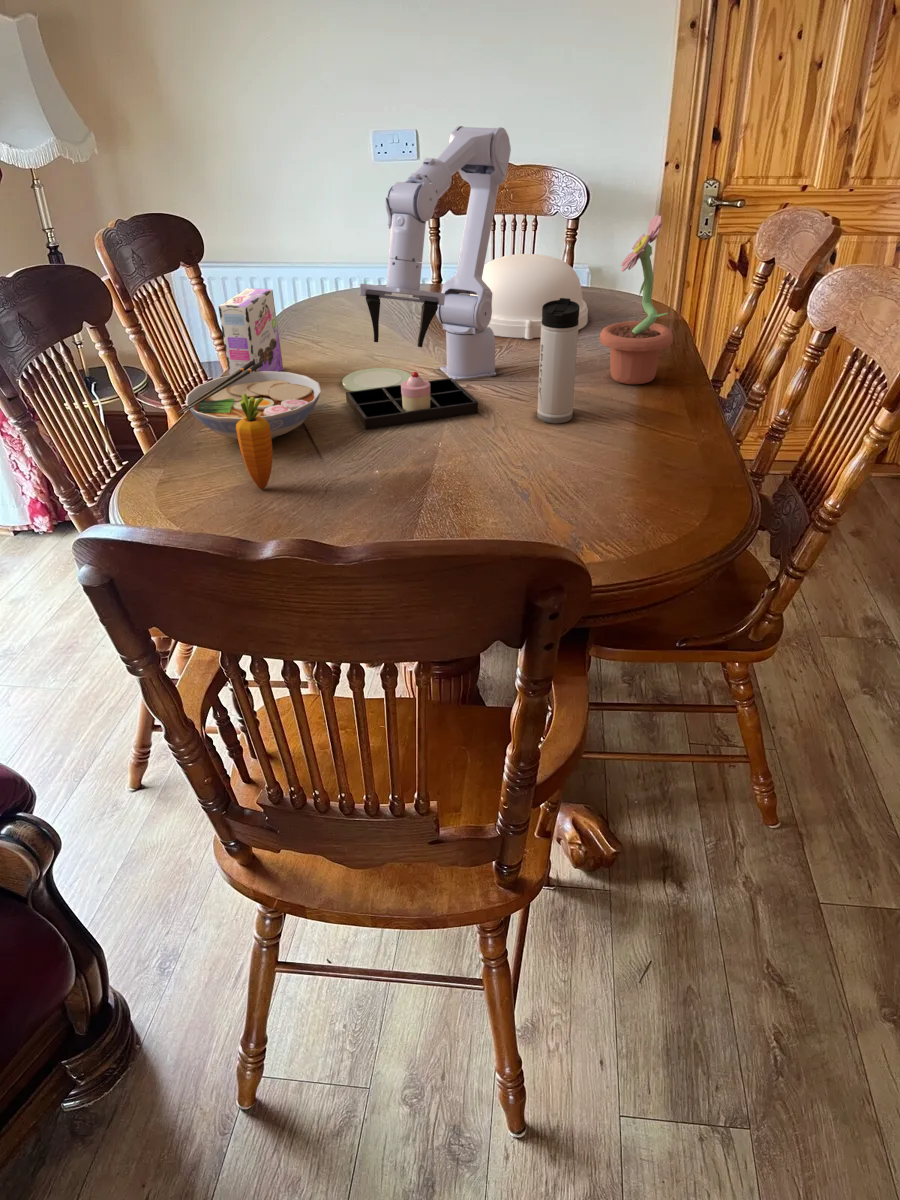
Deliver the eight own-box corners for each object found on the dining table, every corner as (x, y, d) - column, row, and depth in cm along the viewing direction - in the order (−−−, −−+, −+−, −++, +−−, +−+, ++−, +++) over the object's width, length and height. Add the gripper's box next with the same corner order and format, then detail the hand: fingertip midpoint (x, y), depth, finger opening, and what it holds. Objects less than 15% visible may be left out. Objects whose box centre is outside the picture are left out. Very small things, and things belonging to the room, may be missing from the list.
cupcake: (425, 407, 155) (424, 365, 150) (434, 417, 151) (433, 374, 146) (398, 411, 153) (396, 369, 149) (407, 421, 149) (405, 378, 145)
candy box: (258, 392, 163) (246, 306, 154) (230, 391, 164) (216, 305, 155) (284, 369, 175) (273, 287, 165) (257, 368, 176) (245, 286, 166)
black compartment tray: (346, 404, 158) (345, 392, 156) (452, 389, 163) (451, 377, 162) (365, 432, 146) (364, 419, 145) (478, 415, 152) (478, 402, 151)
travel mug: (575, 412, 152) (583, 299, 141) (568, 425, 147) (575, 309, 136) (542, 408, 154) (547, 296, 143) (533, 421, 149) (538, 306, 138)
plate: (401, 368, 174) (401, 364, 174) (422, 390, 163) (421, 385, 163) (335, 376, 170) (335, 372, 170) (352, 399, 159) (351, 395, 159)
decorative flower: (598, 364, 174) (612, 206, 158) (667, 367, 172) (687, 208, 155) (594, 388, 162) (608, 221, 146) (667, 392, 160) (690, 223, 143)
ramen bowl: (281, 472, 133) (274, 423, 129) (161, 453, 140) (150, 406, 136) (350, 415, 153) (346, 371, 148) (242, 401, 160) (235, 359, 155)
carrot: (248, 483, 130) (232, 389, 122) (280, 481, 131) (267, 388, 122) (244, 497, 126) (227, 401, 118) (277, 495, 127) (263, 400, 118)
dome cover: (595, 338, 189) (601, 273, 181) (462, 340, 189) (462, 275, 182) (579, 301, 215) (583, 242, 207) (463, 302, 216) (462, 244, 208)
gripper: (362, 255, 137) (356, 341, 142) (450, 266, 139) (441, 350, 144) (362, 255, 144) (356, 338, 148) (445, 266, 146) (437, 347, 150)
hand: (397, 344), depth 147 cm, fingers open, 7 cm apart
